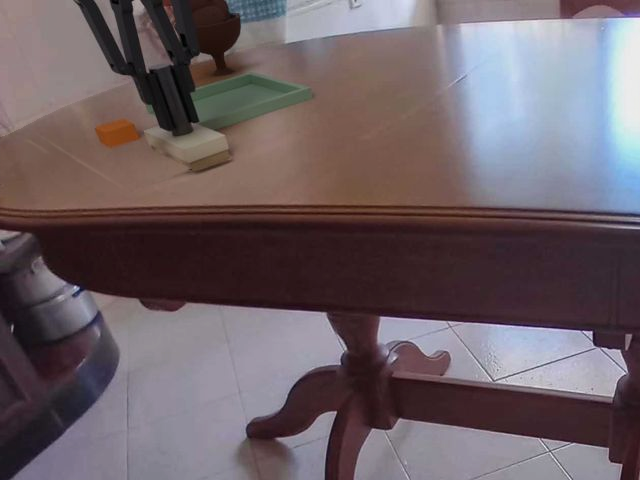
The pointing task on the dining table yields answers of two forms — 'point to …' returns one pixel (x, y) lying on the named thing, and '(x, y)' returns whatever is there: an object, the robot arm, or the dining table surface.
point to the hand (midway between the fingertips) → (179, 124)
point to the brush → (184, 129)
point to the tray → (243, 99)
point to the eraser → (116, 133)
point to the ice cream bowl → (215, 30)
